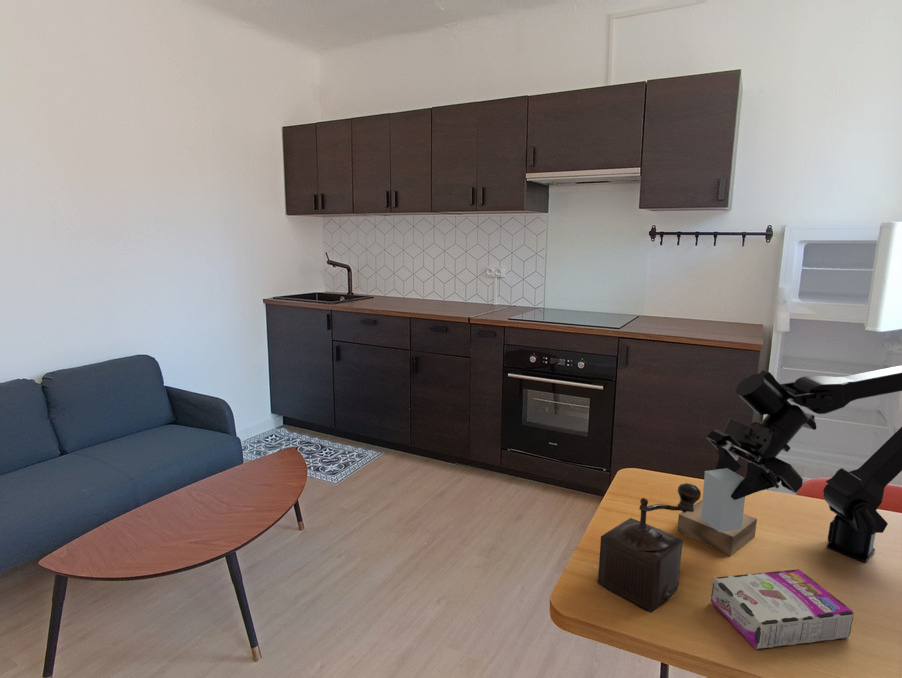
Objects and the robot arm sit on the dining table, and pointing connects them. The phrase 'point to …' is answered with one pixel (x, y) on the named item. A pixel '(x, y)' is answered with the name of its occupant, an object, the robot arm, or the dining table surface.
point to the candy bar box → (781, 608)
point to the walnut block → (708, 535)
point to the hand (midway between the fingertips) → (722, 491)
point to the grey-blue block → (722, 500)
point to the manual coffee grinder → (644, 556)
